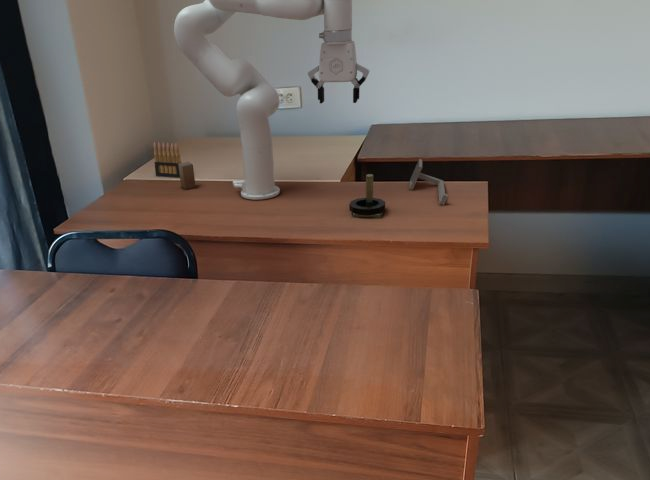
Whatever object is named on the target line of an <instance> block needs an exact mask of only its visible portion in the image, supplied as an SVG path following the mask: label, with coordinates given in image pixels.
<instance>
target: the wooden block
mask: <svg viewBox="0 0 650 480" xmlns="http://www.w3.org/2000/svg"><path fill="white" fill-rule="evenodd" d="M178 166H179V174H180V178H179V180H180V187H181V188H182V189H184V190H188V189H195V188H196V178H195V171H194V164H193V163H192V162H190V161H185V162H182V163H180V164H178Z"/></svg>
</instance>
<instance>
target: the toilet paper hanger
mask: <svg viewBox="0 0 650 480" xmlns="http://www.w3.org/2000/svg"><path fill="white" fill-rule="evenodd" d="M422 170H423V159H421V158H419V159H418V160H417V163H416V165H415V168H414V170H413V172H412V174H411V177H410V178H409V179H410V180H409V190H411V191H413V190H414V188H415V185H416V183H417V181H418V179H420V180H422V181H425V182H427V183H430V184H434V185H437V189H438V191H437V192H438V202H439V205H441V206H445V204H446V202H447V199H448V198H449V194H447V193H446V190H445V188H446V187H445V181H444V180H442V179H440V178H437V177H434V176H431V175H429V174H425V173H423V172H421V171H422Z"/></svg>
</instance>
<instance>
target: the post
mask: <svg viewBox="0 0 650 480" xmlns="http://www.w3.org/2000/svg"><path fill="white" fill-rule="evenodd" d="M365 197H366V205H364V206H361V207H372V206H373V198H374V174H373V173H368V174H366V175H365ZM384 212H385V210H384V211H383V212H381V213H379V214H374V215H358V214H354V213H352V217H353V218H368V219H369V218H372V219H381V218H382V217H383V214H384Z"/></svg>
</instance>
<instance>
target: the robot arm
mask: <svg viewBox="0 0 650 480" xmlns="http://www.w3.org/2000/svg"><path fill="white" fill-rule="evenodd" d="M235 13H245V14H254V15H261V16H263V17H272V18H276V19H286V20H294V21H295V20H296V21H306V20H310V19H312V18H315V17H318V16H323V31H322V32H319V33H318V39H322V40H323V42H322V43H321V45H320V50H319V51H320V52H319V65H318V66H316V67H314V68H312V69H310V70H309V71H308V72H307V75H308V78H309V79H310V82H311V84H313V86H314V87H316V89H317V100H318V101H319V104H323V103H324V102H325V87H324V84H325V83H349V82H350V83H351V84H352V85H353V88H352V103H353V104H357V102H358V100H360V88H361V86H362V85H363V83H364V82H365V81H366V80H367V78H368V76H369V74H370V69H368V68H367V67H364V66H363V65H361V64H359V63H358V62H357V49H356V44H355V40H353V0H203V1H202V2H200V3H197V4H196V3H195V4H191V5H188V6H186V7H184V8H182V9H181V10H179V12H178V14H177V15H176V17H175V20H174V25H173V34H174V39H175V42H176V45H177V47H178V48H179V50H180V52H181V53H182V54H183V55H184V57H185V58H186V59H187V60H188V61H189V62H190V63H191V64H193V66H194V67H196V69H197V70H198V71H199V72H200V73H201V74H202V75H203V76H204V77H205V78H206V79H207V80H208V81H209V83H210V84H211V85H212V86H213V87H214V88H215V89H216V90H217V91H218V92H219V93H220V94H221V95H223V96H224V97H228V98H229V97H234V96H237V95H240V97H239V99H238V100H237V103H236V107H235V108H236V109H235V113H236V118H237V119H236V120H237V123H238V127H239V133H240V134H239V135H240V144H241V152H242V153H241V154H242V166H243V177H244V179H242V180H238V179H237V180H236V179H234V180H232V186H233V188H234V189H240V196H241V197H242V198H243V199H247V200H252V201H253V200H255V201H257V200H258V201H260V200H269V199H272V198H275V197H277V196H279V194H280V193H281V189H280V187H279V186H278V185H276V184H275V183H276V182H275V167H274V151H273V137H272V129H271V125H270V120H269V118H270V117H271V116H273V115H274V114H275V113H276V112H277V111H278V109H279V107H280V96H279V93H278V92H277V90H276V88H275V87H274V85H272V83H270V82H269V81H268V79H267V78H266V77H265V76H263V74H262V73H261V72H260V71H259V70H258V69H257V68H256V67H255V66H254V65H253V64H252V63H251V62H249V61H248V60H247V59H244V58H234V59H231V58H229V57H228V56H227V55H226V54H224V52H222V50H221V48H219V47H218V46H217V45H216V44H214V42H212V41H210V40H209V39H208V38H207V37H206V36H208V35H210V34H213V33H215V32H216V31H217V30H218V29H220V28H221V27H223V25H224V24H225V23H226V22H228V20H229V19H230V18H231V17H232V16H233V15H234V14H235ZM358 72H360V73H362V76H361V78H360V79H358V77H357V75H358ZM316 73H318V78H319V79H317V78H316V76H315V74H316Z"/></svg>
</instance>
